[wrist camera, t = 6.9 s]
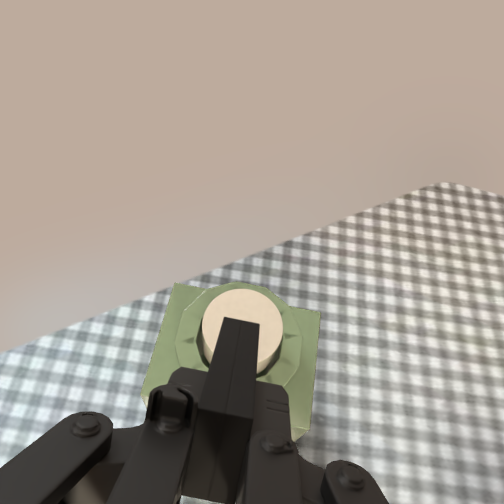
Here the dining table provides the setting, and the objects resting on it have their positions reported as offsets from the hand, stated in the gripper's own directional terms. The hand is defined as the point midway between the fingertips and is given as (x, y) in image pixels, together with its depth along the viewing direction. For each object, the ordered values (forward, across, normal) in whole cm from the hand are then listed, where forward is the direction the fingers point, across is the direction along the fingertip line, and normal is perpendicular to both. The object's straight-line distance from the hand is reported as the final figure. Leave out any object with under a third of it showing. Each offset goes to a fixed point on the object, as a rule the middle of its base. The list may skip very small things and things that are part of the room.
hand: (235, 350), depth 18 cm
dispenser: (+17, 0, +12) cm, 21 cm away
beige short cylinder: (+7, 0, +3) cm, 8 cm away
